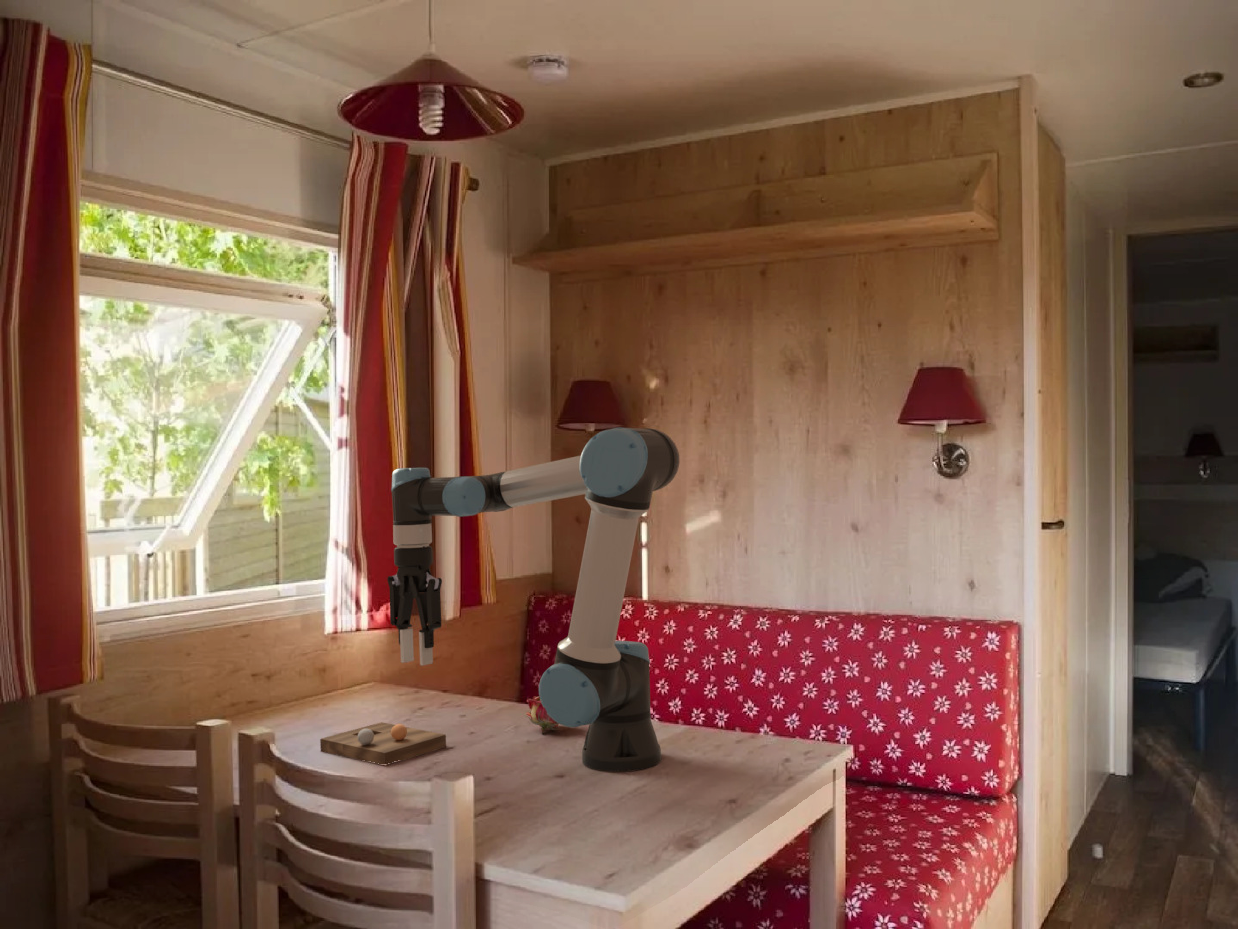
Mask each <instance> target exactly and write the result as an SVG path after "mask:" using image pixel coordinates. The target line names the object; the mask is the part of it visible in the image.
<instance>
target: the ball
mask: <svg viewBox="0 0 1238 929" xmlns="http://www.w3.org/2000/svg"><path fill="white" fill-rule="evenodd" d="M394 725H395V726H394V727H393V728H392V730H391V735H392V737H393V738H394V739H395V740H402V739H404V738H405V737H406V735H407V729H406V727H407V726H405V725H404V724H402V723H397V724H394Z"/></svg>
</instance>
